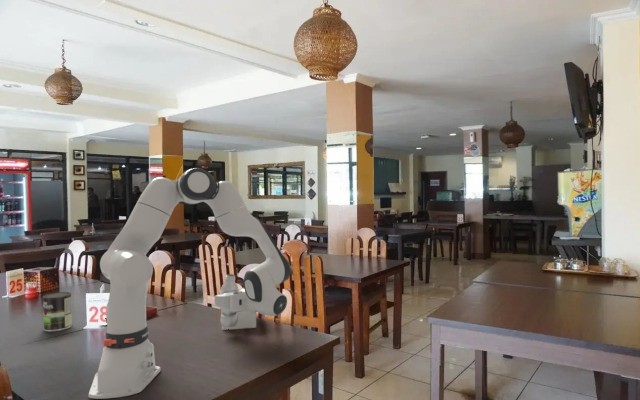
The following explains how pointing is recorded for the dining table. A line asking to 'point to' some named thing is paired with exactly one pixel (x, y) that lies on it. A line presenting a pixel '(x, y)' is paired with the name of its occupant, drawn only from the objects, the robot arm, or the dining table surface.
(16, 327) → the dining table surface
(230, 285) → the plastic bottle
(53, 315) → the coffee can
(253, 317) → the bin
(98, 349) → the dining table surface
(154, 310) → the hardcover book
